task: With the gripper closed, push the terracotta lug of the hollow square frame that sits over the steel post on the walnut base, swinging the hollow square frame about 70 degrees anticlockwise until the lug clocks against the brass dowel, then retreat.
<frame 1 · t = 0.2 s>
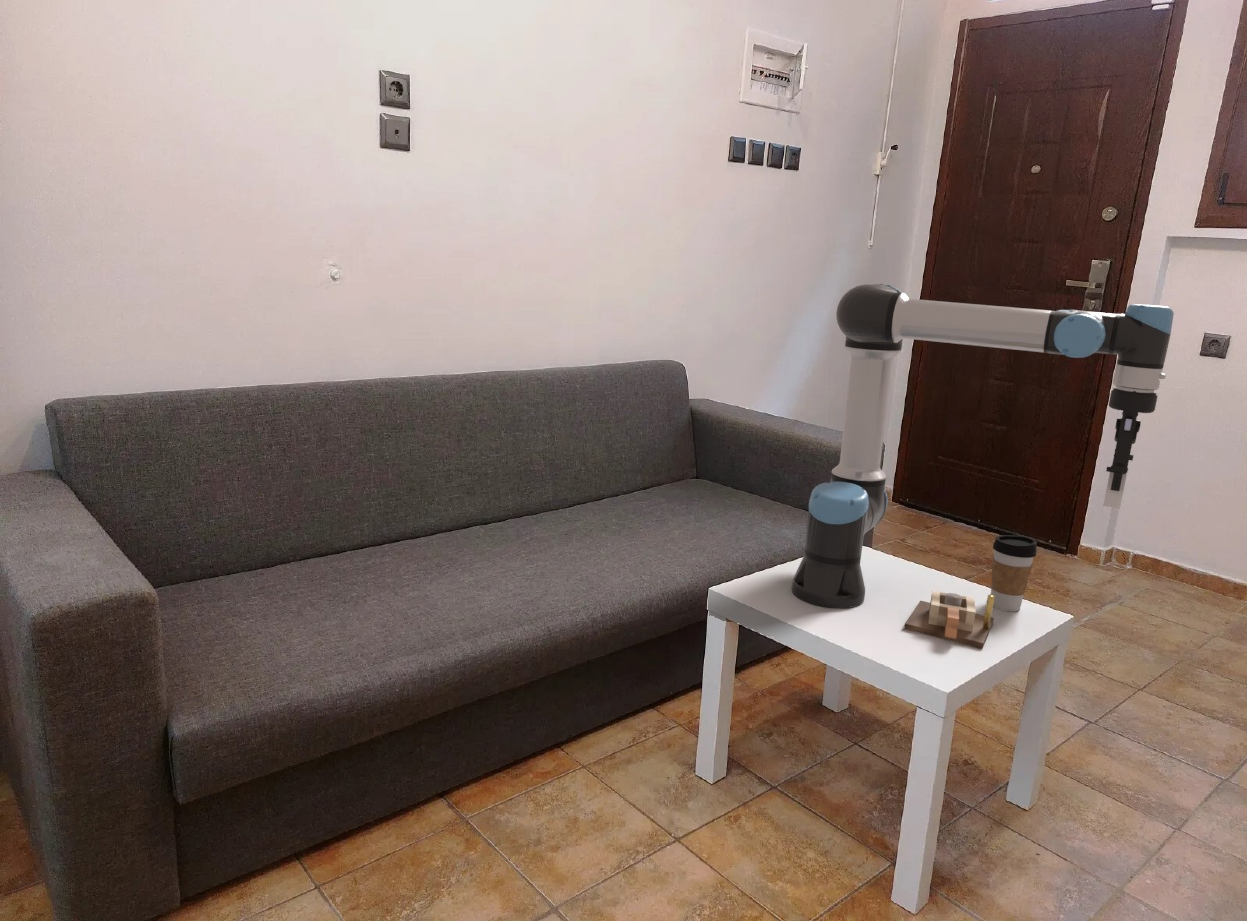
hand: (1113, 499, 165), 28 cm above the table, fingers open, 13 cm apart
hollow square frame: (951, 615, 168), point 3 cm above the table, hinge at 0.0°
coffee cup: (1004, 606, 183), on the table
dowel: (984, 634, 168), resting on base
base: (949, 626, 171), on the table
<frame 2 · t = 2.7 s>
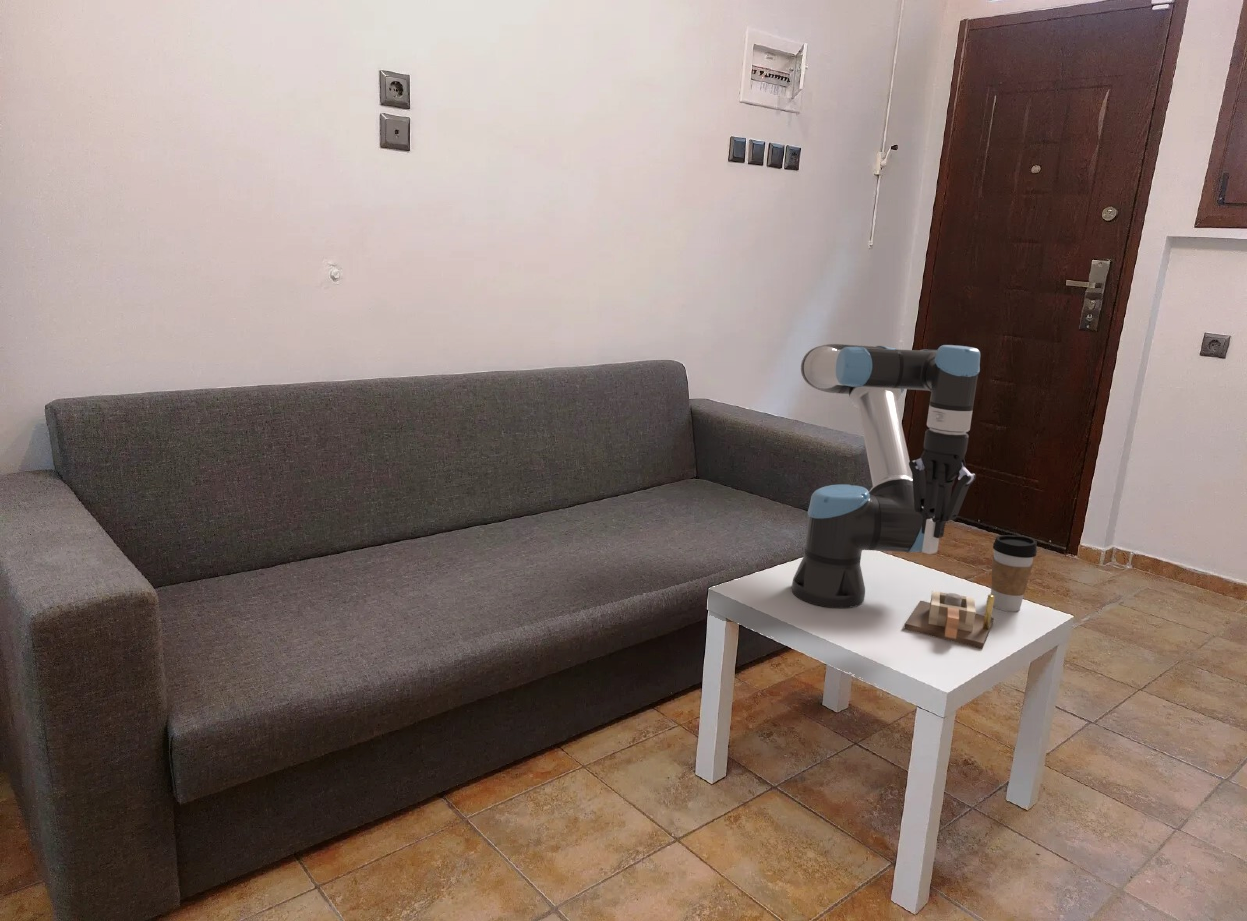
hand: (929, 551, 164), 16 cm above the table, fingers closed
nothing on the table moved.
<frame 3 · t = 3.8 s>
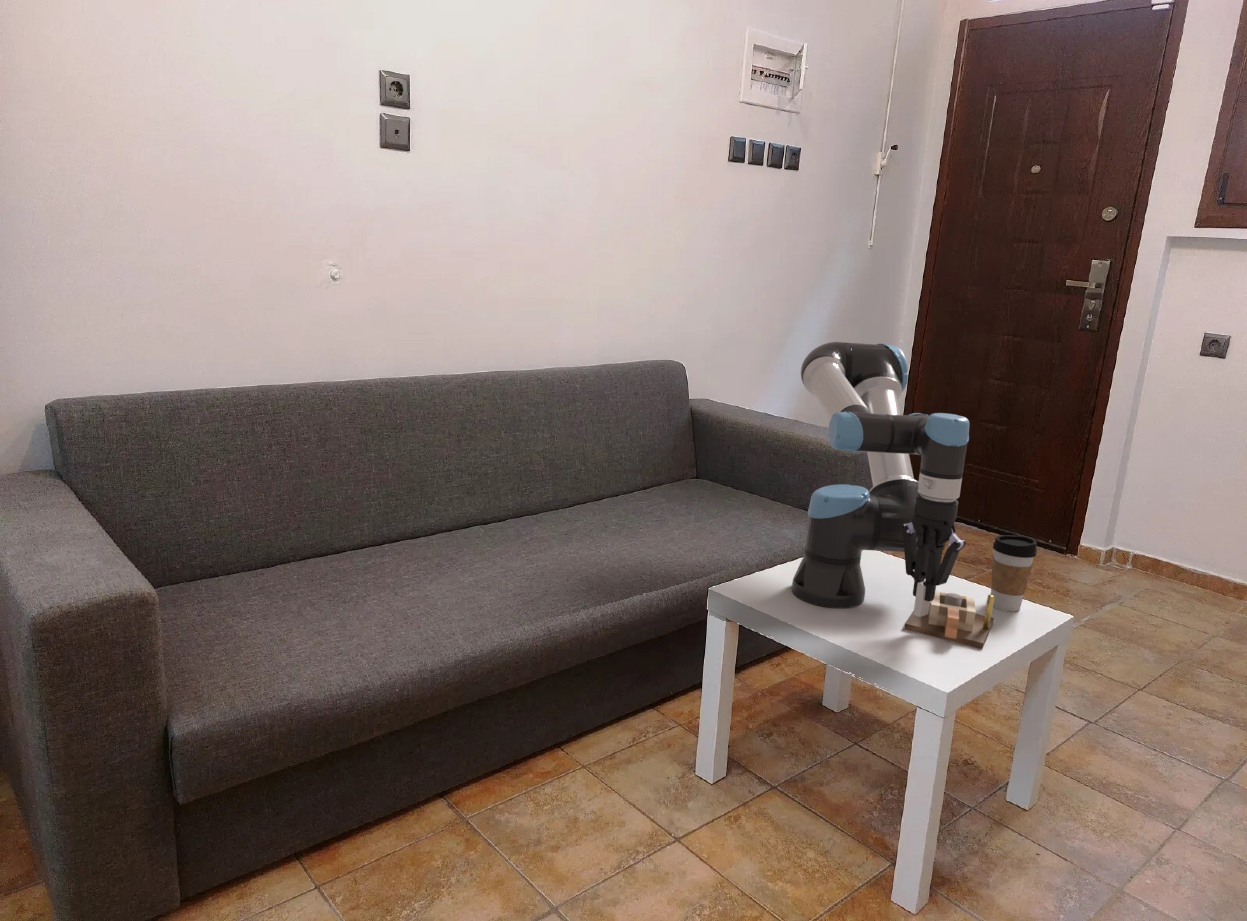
hand: (920, 614, 167), 4 cm above the table, fingers closed
nothing on the table moved.
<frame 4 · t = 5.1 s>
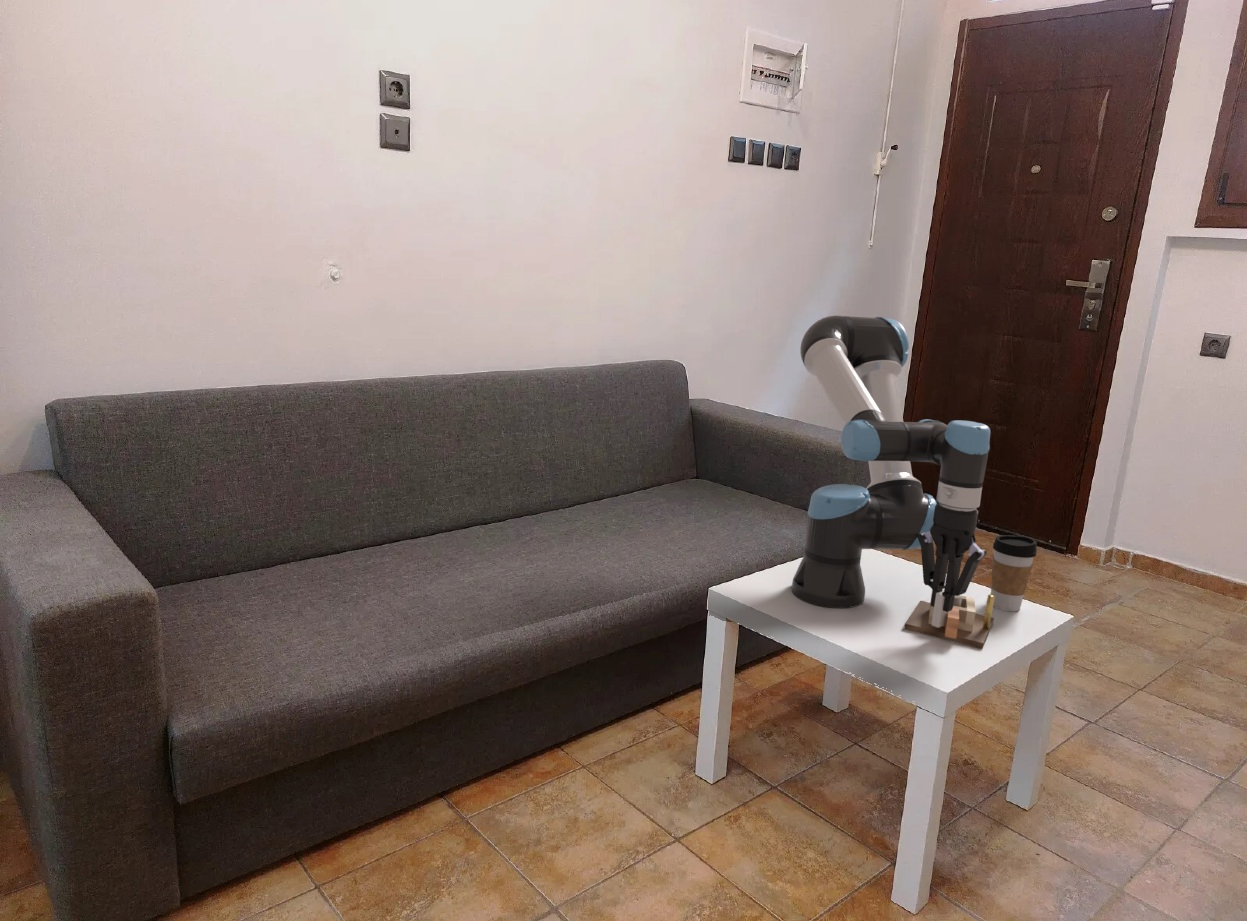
hand: (938, 624, 164), 3 cm above the table, fingers closed
hollow square frame: (951, 615, 168), point 3 cm above the table, hinge at 0.1°, touching gripper
everything else where it was.
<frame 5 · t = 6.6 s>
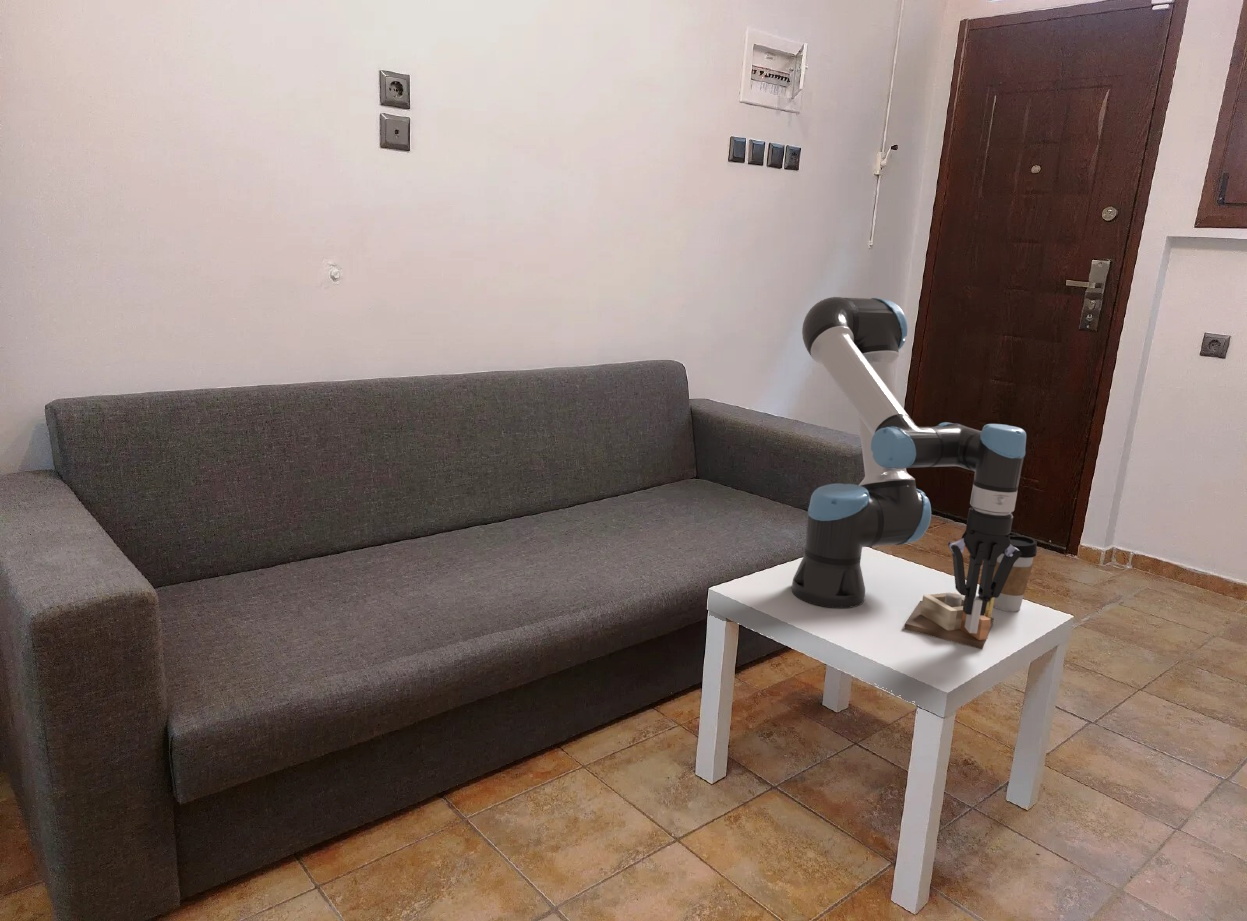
hand: (970, 630, 162), 3 cm above the table, fingers closed
hollow square frame: (960, 615, 168), point 3 cm above the table, hinge at 40.6°, touching gripper
everything else where it was.
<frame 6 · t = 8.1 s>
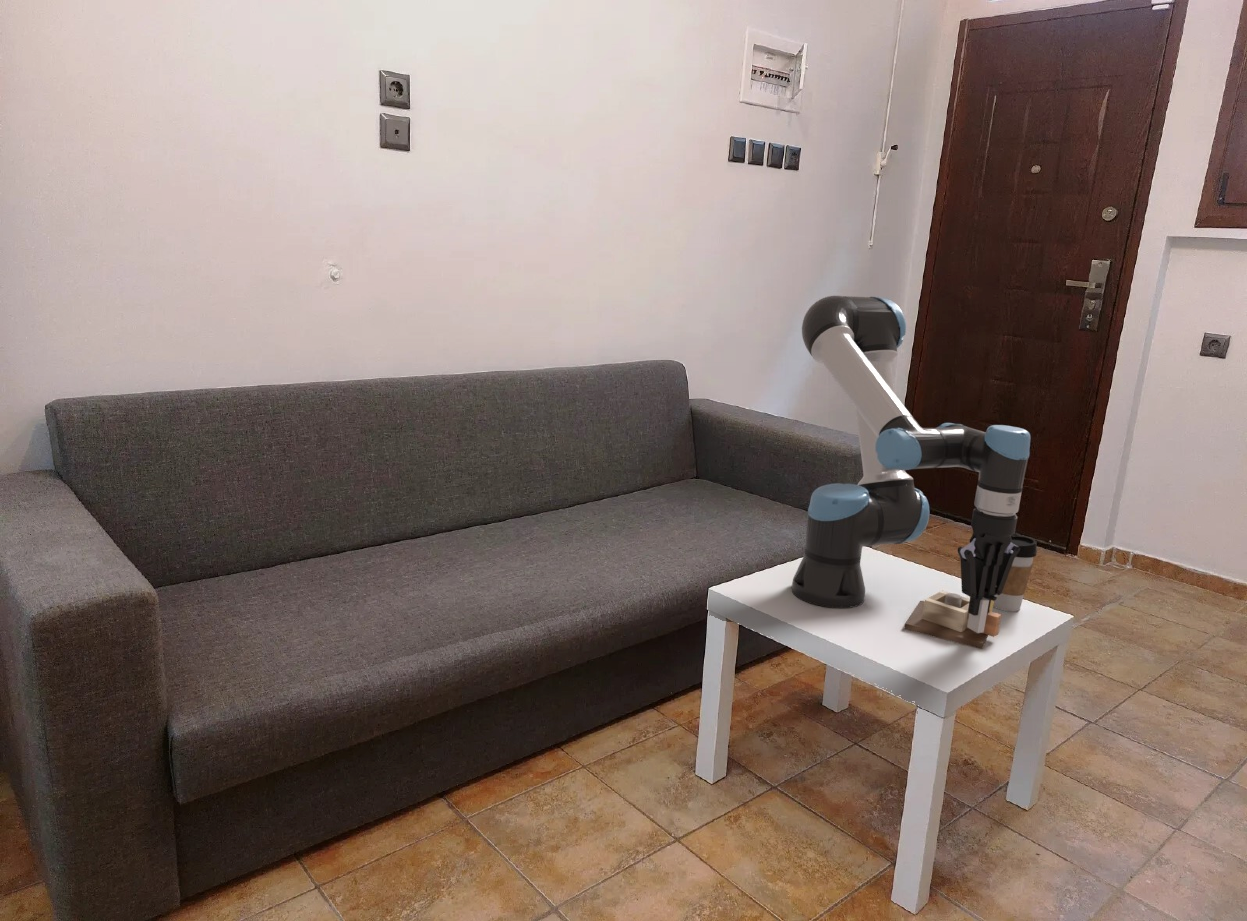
hand: (975, 629, 163), 3 cm above the table, fingers closed
hollow square frame: (964, 614, 168), point 3 cm above the table, hinge at 66.0°
everything else where it was.
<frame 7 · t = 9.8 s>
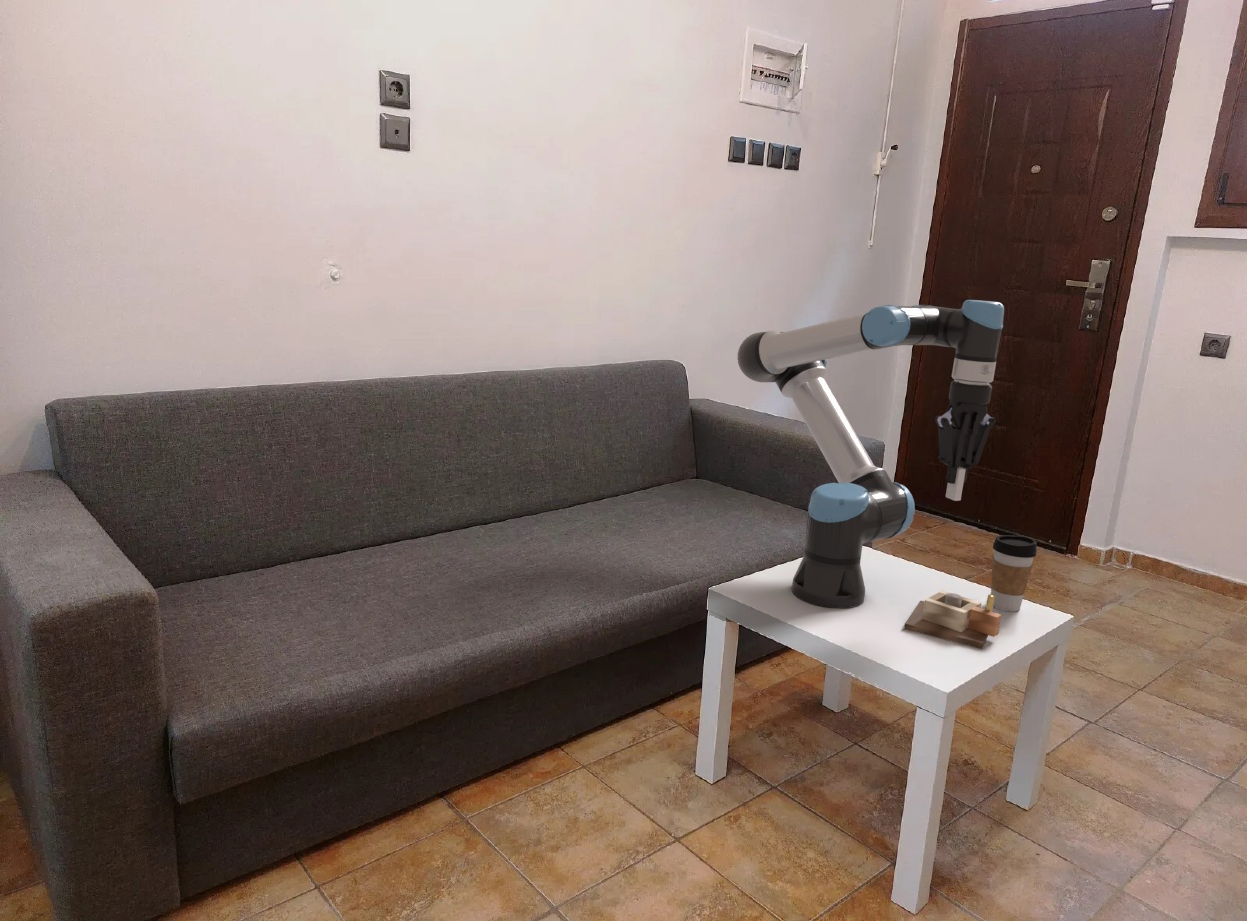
hand: (953, 498, 172), 24 cm above the table, fingers closed
nothing on the table moved.
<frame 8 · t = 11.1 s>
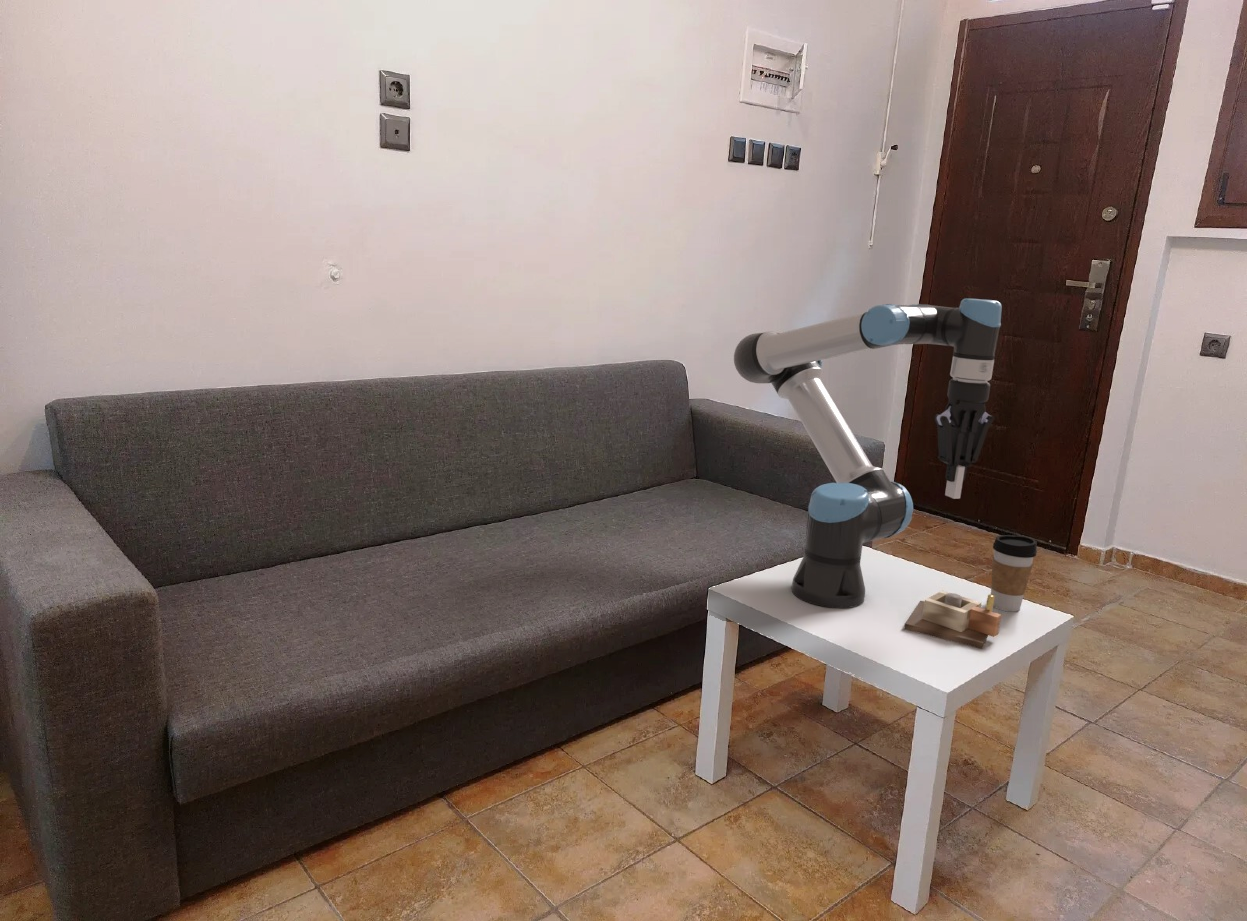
hand: (952, 496, 173), 24 cm above the table, fingers closed
nothing on the table moved.
at the end: hollow square frame at +66° (first picture: +0°) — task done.
